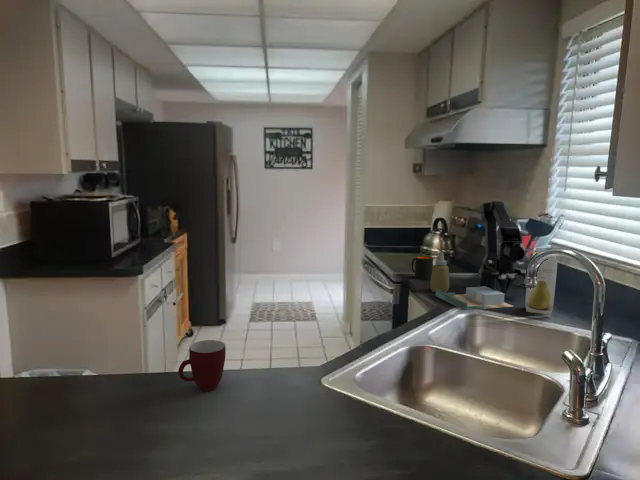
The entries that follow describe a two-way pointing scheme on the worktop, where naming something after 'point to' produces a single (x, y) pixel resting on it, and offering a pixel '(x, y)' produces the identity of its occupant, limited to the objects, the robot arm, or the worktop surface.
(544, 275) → the juice carton
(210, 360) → the mug
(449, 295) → the display board
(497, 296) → the carton
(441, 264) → the squeeze bottle
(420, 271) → the mug
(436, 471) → the worktop surface
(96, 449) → the worktop surface
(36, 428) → the worktop surface
